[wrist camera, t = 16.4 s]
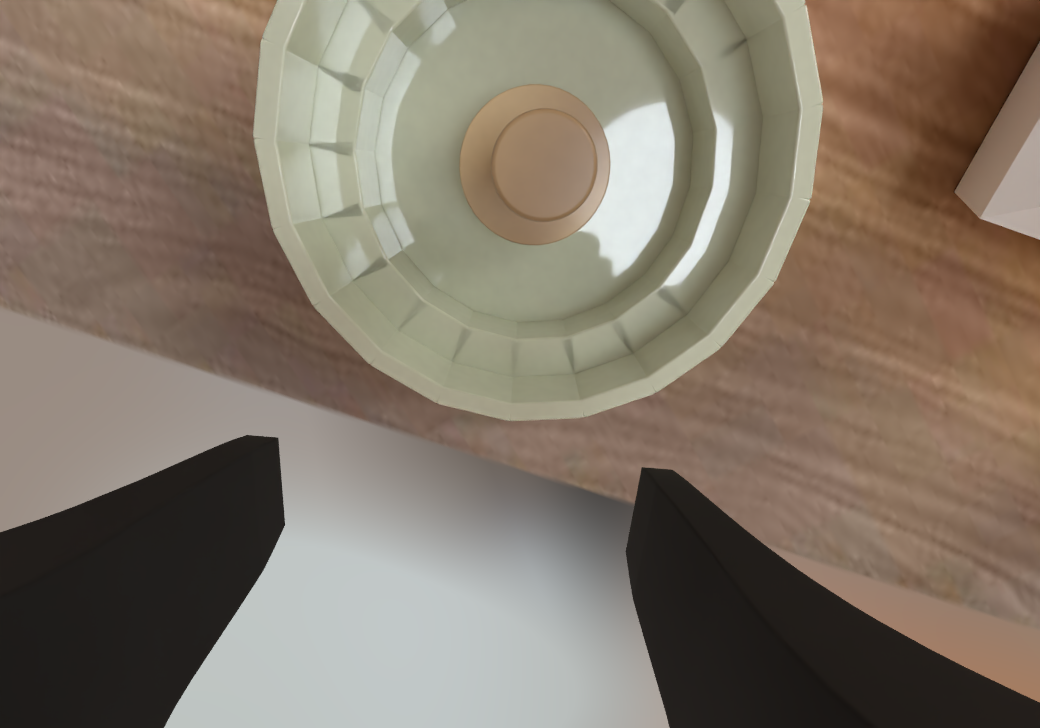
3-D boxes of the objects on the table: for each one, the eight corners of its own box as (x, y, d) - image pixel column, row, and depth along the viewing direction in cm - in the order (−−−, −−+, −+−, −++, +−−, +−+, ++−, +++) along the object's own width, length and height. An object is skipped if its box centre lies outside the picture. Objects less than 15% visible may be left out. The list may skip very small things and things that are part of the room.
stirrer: (443, 189, 18) (344, 212, 8) (513, 65, 17) (497, -86, 7) (551, 260, 19) (580, 360, 9) (626, 147, 17) (757, 118, 8)
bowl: (258, 231, 19) (171, 252, 14) (461, -204, 15) (431, -378, 10) (582, 426, 22) (598, 497, 17) (832, 101, 17) (946, 75, 13)
